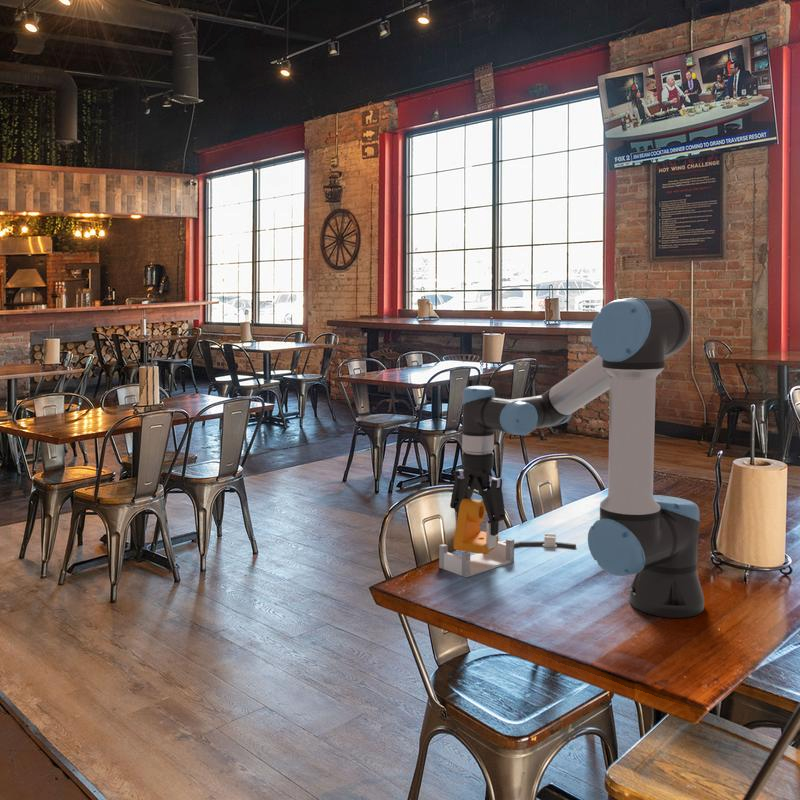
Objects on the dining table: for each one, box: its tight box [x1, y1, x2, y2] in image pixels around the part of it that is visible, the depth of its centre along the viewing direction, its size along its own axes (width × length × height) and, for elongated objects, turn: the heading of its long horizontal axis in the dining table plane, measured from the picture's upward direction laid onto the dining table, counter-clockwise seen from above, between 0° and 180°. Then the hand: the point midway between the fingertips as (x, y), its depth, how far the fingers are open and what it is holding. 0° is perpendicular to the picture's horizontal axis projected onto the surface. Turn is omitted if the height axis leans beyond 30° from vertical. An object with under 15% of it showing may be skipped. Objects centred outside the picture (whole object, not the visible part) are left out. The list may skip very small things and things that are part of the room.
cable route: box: [498, 532, 577, 549], centre depth 216 cm, size 6×23×3 cm, turn 100°
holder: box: [438, 538, 515, 578], centre depth 203 cm, size 9×17×6 cm, turn 131°
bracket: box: [453, 498, 499, 554], centre depth 202 cm, size 11×7×12 cm, turn 151°
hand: (476, 542), depth 203 cm, fingers closed on bracket, 9 cm apart
